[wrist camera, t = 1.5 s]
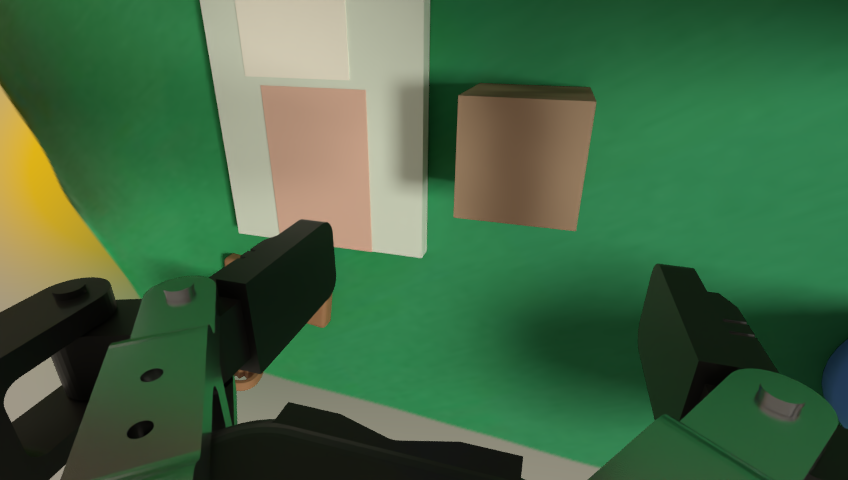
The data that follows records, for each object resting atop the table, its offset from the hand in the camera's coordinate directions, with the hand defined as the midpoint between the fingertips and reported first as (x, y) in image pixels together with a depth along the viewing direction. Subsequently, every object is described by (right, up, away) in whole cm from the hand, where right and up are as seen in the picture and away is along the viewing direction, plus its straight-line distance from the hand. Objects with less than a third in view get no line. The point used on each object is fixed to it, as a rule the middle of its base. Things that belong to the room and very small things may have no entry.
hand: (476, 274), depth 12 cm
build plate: (-8, +9, +18) cm, 22 cm away
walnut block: (+5, +7, +15) cm, 17 cm away
